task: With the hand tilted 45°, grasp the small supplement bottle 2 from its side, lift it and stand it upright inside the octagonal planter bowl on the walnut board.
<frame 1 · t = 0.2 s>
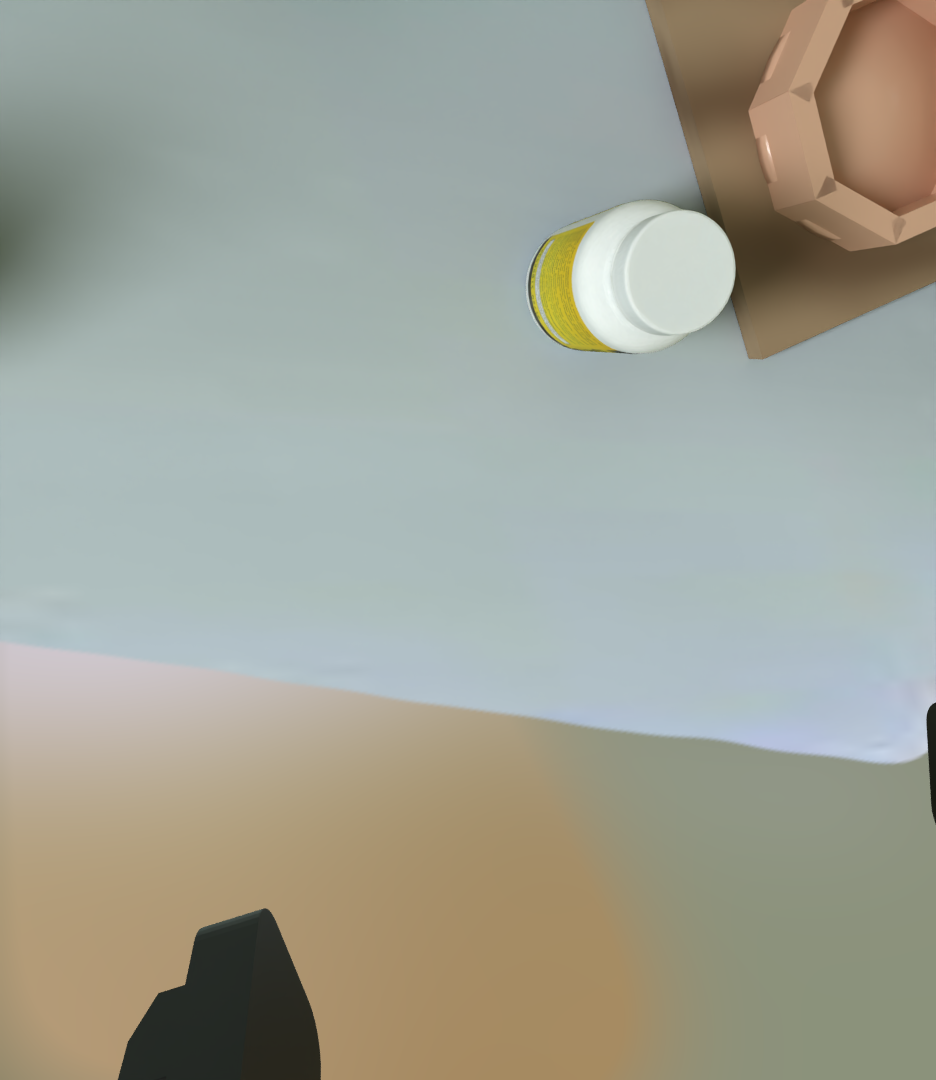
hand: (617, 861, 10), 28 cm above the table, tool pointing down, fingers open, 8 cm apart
octagonal planter bowl: (864, 117, 36), resting on walnut board
walnut board: (826, 82, 36), on the table
supplement bottle 2: (581, 288, 37), on the table
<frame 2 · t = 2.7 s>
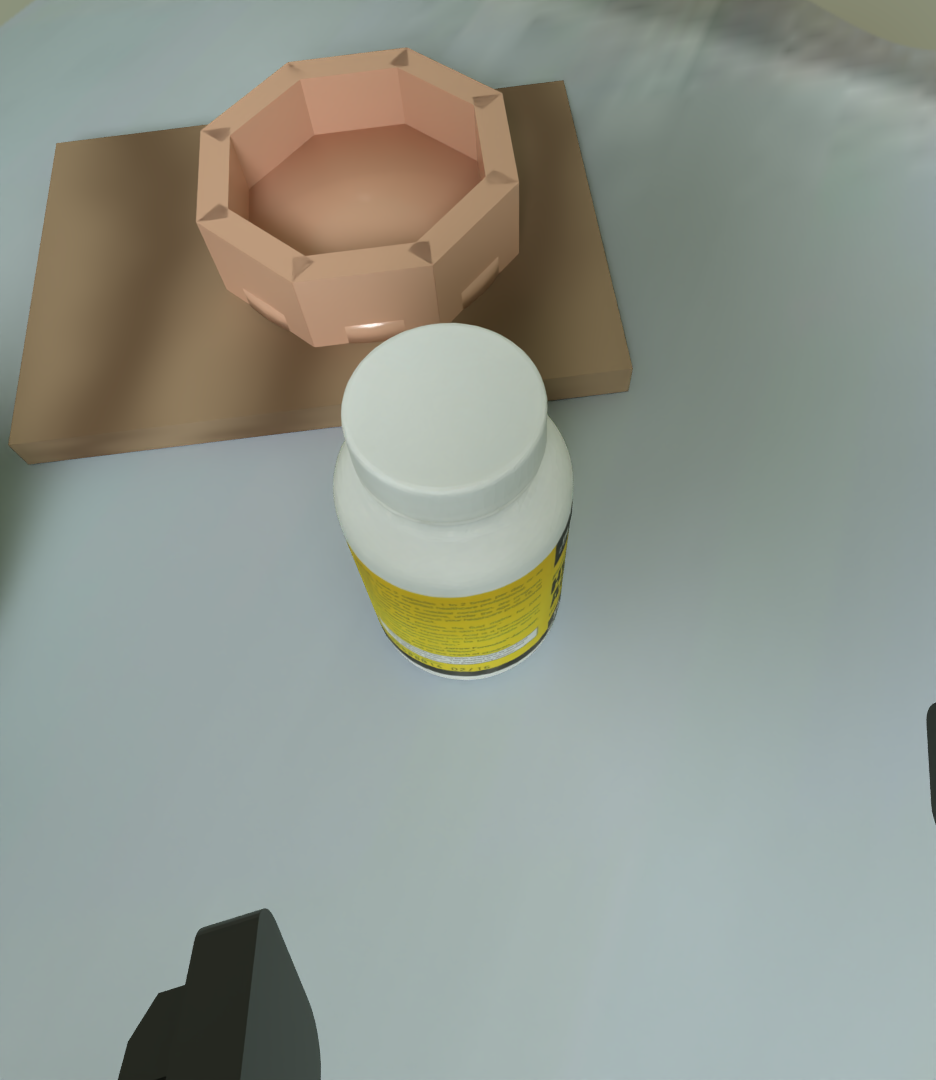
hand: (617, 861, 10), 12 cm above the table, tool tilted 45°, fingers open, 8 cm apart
octagonal planter bowl: (369, 226, 29), resting on walnut board
walnut board: (321, 268, 30), on the table
supplement bottle 2: (469, 597, 25), on the table
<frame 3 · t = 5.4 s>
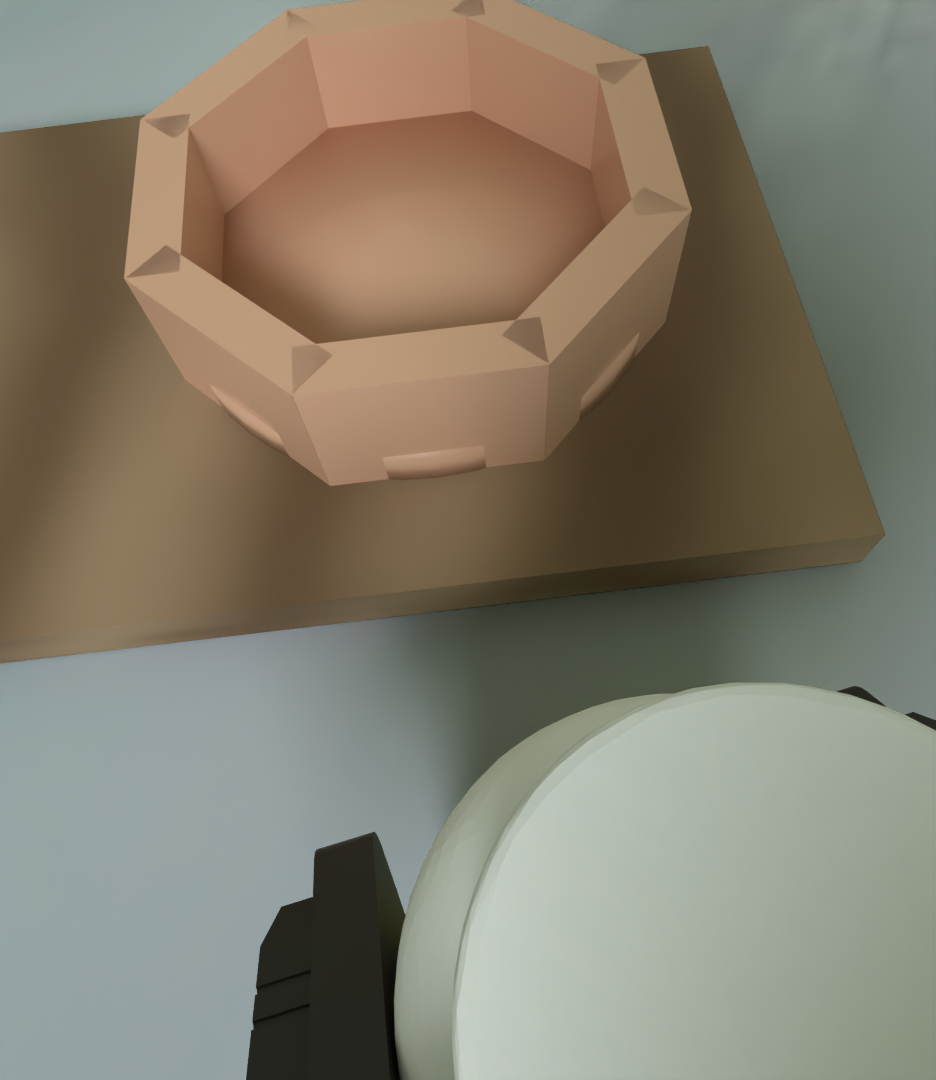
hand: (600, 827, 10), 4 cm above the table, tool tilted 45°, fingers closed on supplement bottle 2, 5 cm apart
octagonal planter bowl: (417, 275, 18), resting on walnut board
walnut board: (339, 339, 19), on the table
supplement bottle 2: (613, 969, 14), on the table, touching gripper
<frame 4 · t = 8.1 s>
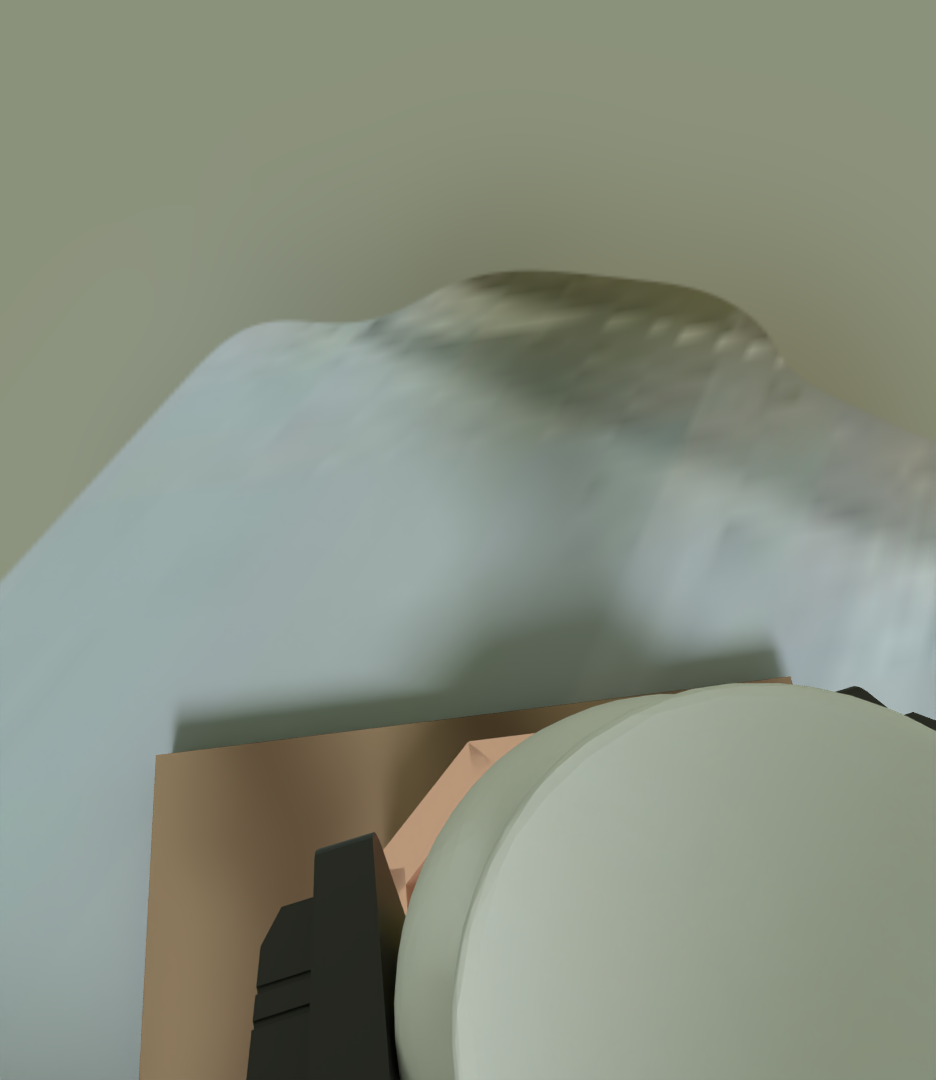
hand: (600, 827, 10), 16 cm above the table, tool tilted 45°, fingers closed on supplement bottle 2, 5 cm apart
octagonal planter bowl: (569, 937, 23), resting on walnut board
walnut board: (501, 964, 24), on the table
supplement bottle 2: (614, 969, 13), point 12 cm above the table, touching gripper
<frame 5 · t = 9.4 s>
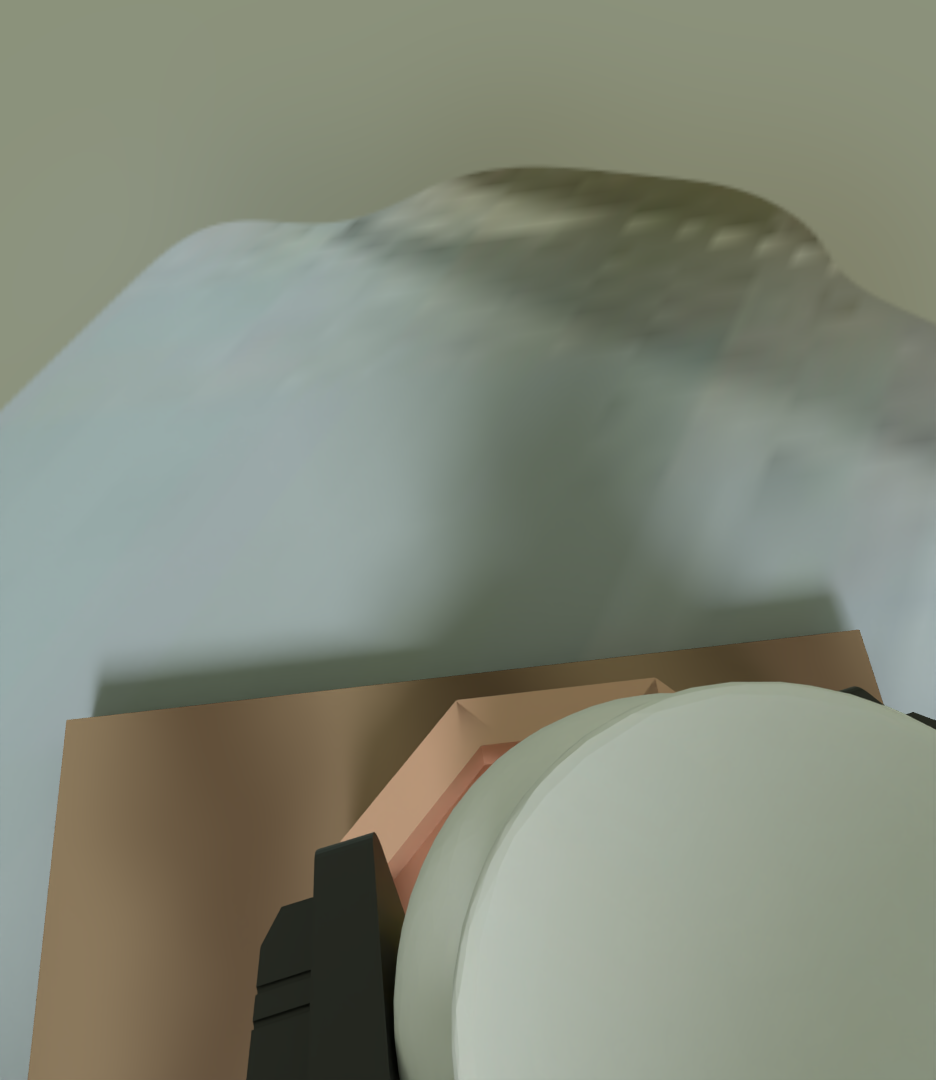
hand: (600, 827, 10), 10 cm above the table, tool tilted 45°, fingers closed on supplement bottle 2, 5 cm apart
octagonal planter bowl: (584, 954, 18), resting on walnut board
walnut board: (496, 987, 19), on the table
supplement bottle 2: (614, 969, 13), point 6 cm above the table, touching gripper
when the fingers open (7 cm above the table, at t = 10.6 s): supplement bottle 2 drops 1 cm, resting on octagonal planter bowl.
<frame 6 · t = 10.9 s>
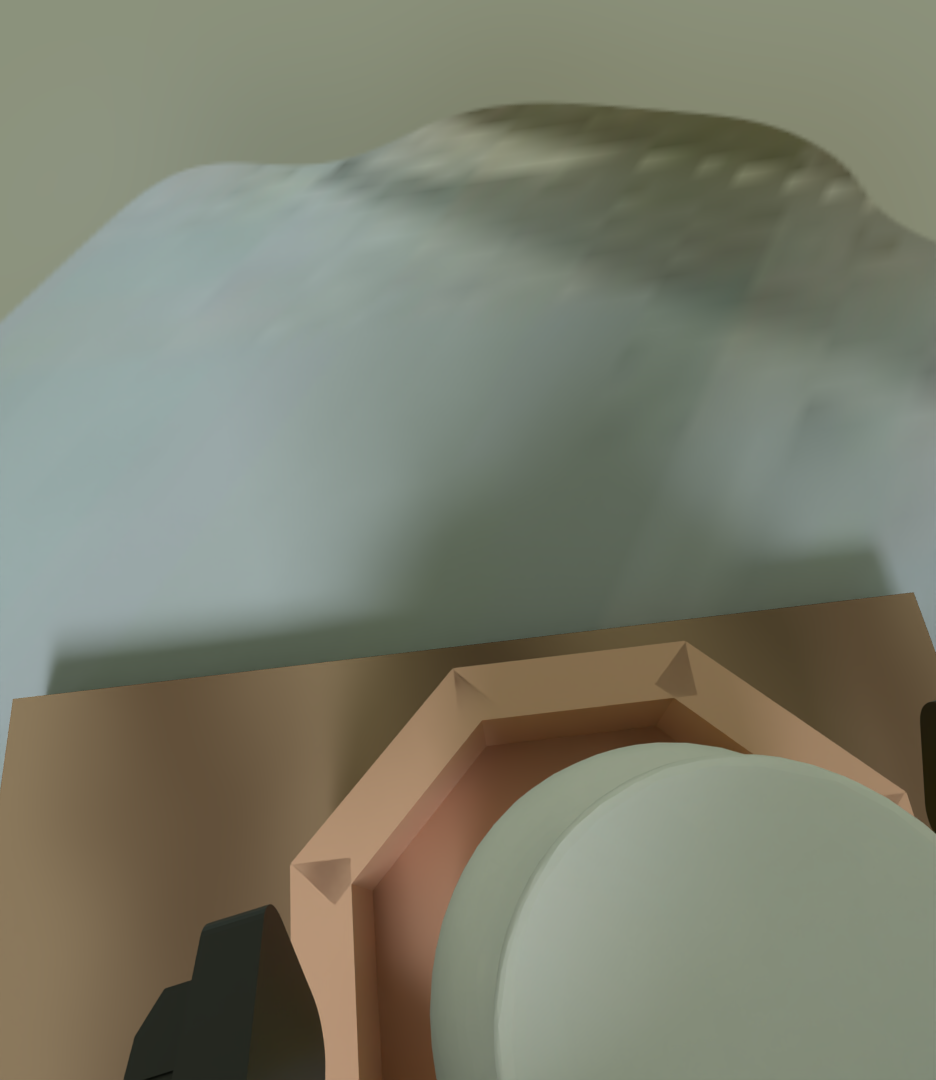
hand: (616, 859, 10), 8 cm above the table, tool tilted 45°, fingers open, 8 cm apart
octagonal planter bowl: (603, 965, 15), resting on walnut board
walnut board: (501, 1003, 16), on the table
supplement bottle 2: (613, 976, 15), point 2 cm above the table, touching octagonal planter bowl
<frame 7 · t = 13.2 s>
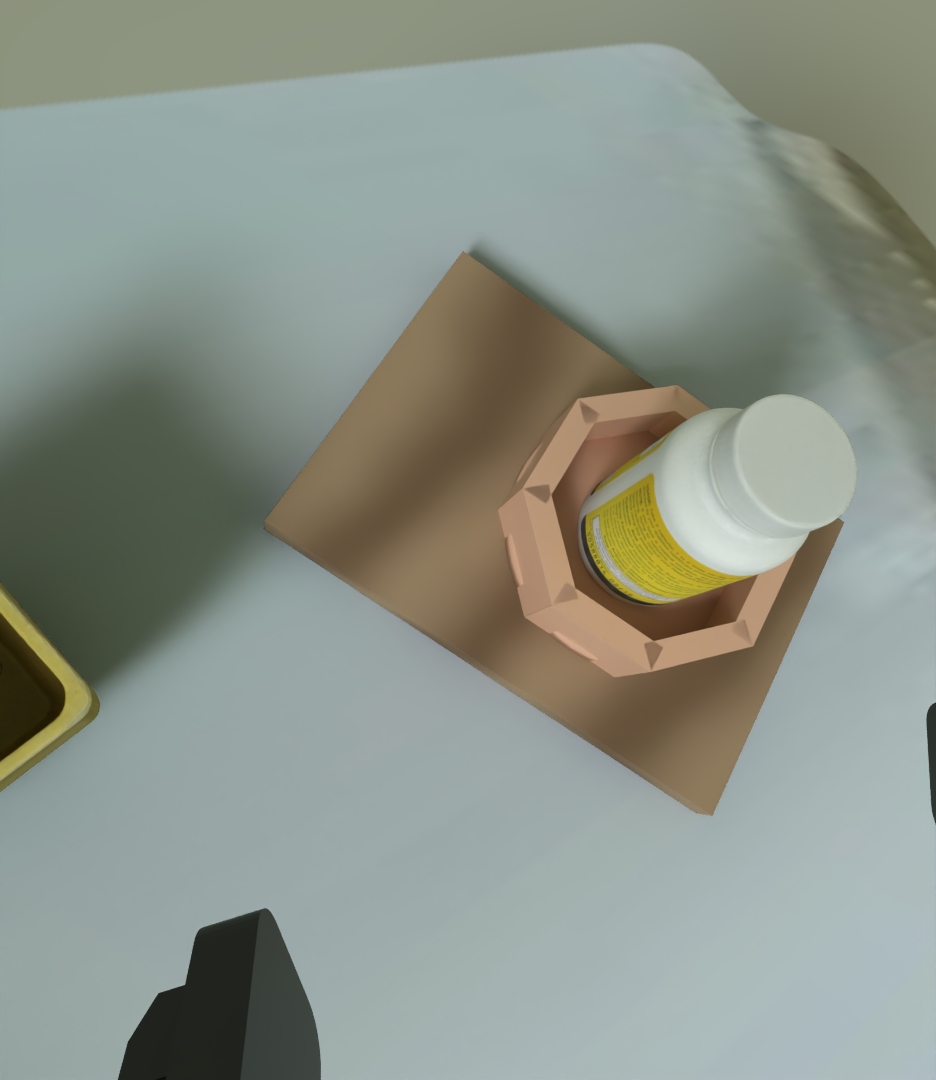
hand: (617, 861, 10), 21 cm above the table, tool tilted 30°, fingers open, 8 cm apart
octagonal planter bowl: (629, 539, 33), resting on walnut board
walnut board: (571, 528, 34), on the table
supplement bottle 2: (636, 541, 32), point 2 cm above the table, touching octagonal planter bowl
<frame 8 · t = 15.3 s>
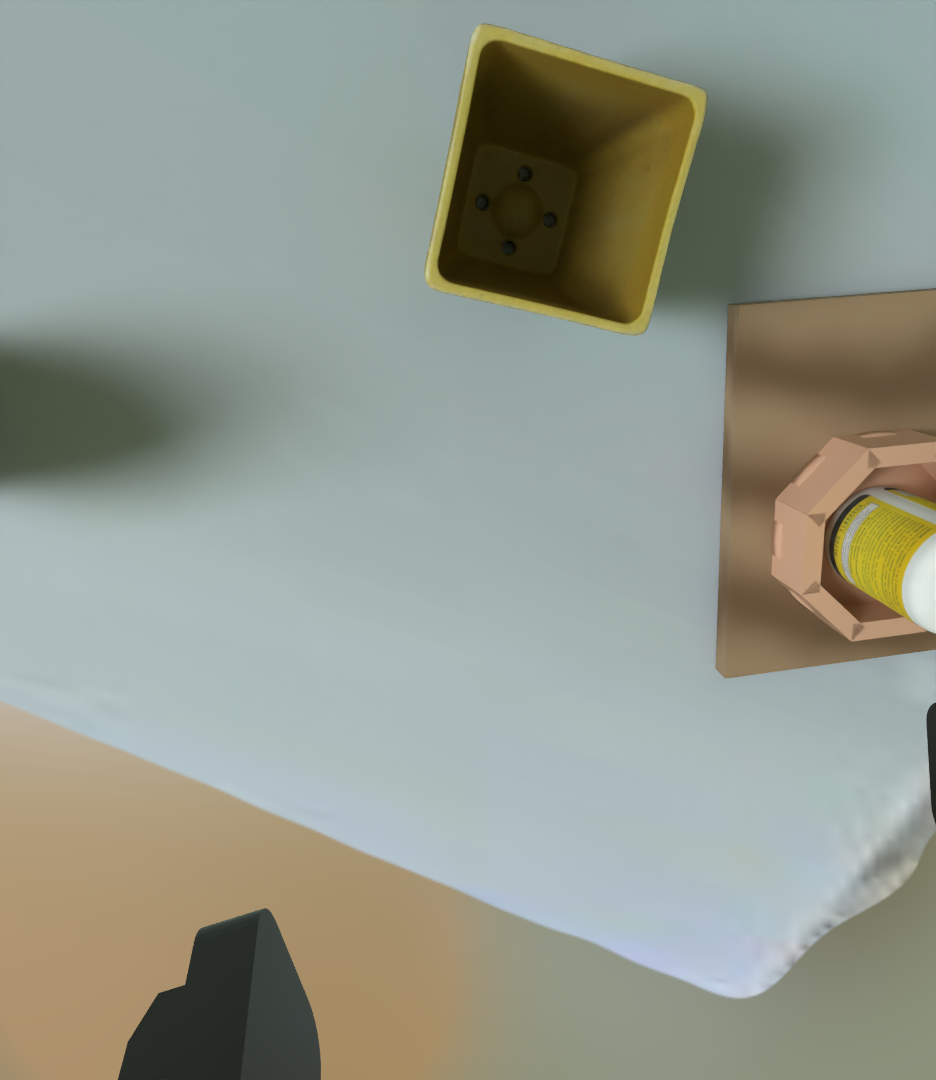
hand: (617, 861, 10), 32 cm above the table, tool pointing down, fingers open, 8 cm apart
flower pot: (513, 208, 38), on the table
octagonal planter bowl: (862, 526, 44), resting on walnut board
walnut board: (844, 486, 45), on the table
supplement bottle 2: (866, 532, 44), point 2 cm above the table, touching octagonal planter bowl
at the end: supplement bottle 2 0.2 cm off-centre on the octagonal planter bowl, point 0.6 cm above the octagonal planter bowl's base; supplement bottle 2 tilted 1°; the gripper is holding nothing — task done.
